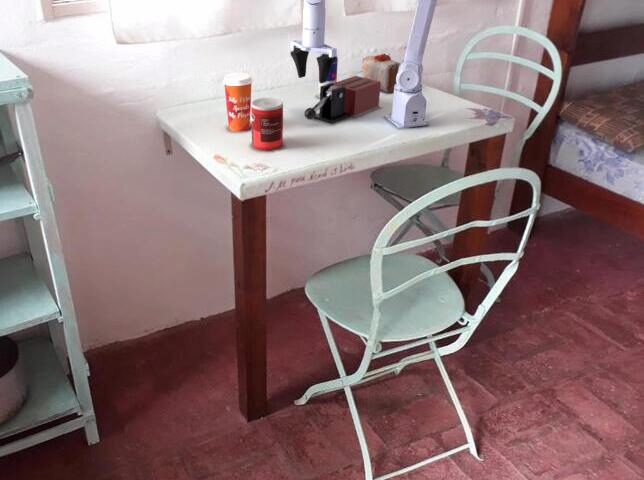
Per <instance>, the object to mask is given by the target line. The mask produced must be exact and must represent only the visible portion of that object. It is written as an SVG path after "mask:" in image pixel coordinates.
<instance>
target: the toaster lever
mask: <svg viewBox="0 0 644 480" xmlns="http://www.w3.org/2000/svg"><path fill="white" fill-rule="evenodd" d="M335 88H337V87H335V86H331V87H330V88H329V89H327V90H326V91H325V92H326V96H325V97H324V98H323V99H322V100H320V99H319V101H318V102H317V103H316V104H315V105H314V106H313V107H308V108H306V109H305V110H304V117H305V118H306V119H307V120H314V119H313V118H314V117H315V115H316V114H317V111H320V108H321V107H322V106H323V105H324V104H325V103H326V102H327V101H328V100H329V99H330V100H331V97H332V89H335Z"/></svg>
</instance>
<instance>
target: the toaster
mask: <svg viewBox="0 0 644 480" xmlns="http://www.w3.org/2000/svg"><path fill="white" fill-rule="evenodd" d="M380 85H381V82H380V81H376V80H371V79H367V78H363V77H362V76H359V75H353V76H350V77H348V78H343V79H342V80H339V81H337V82H336V83H334V86H335V87H340V86H345V99H344V112H346V113H349V114H351V117H352V118H356V117H359V116H362V115H364V114H367V113H369V112H372V111H374V110H377V109H378V108H380V97H381V90H380Z"/></svg>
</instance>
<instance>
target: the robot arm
mask: <svg viewBox="0 0 644 480" xmlns="http://www.w3.org/2000/svg"><path fill="white" fill-rule="evenodd" d="M437 1H438V0H417V3H416V8H415V12H414V17H413V20H412V25H411V29H410V33H409V38H408V42H407V46H406V50H405V55H404V58H403V60H402V61H401V62H399V63H400V65H399V68H398V73H397V76H396V84H395V85H394V92H393V94H392V95H393V96H392V106H391V114H385V118H386V119H387V120H388V121H390V122H391V123H392V124H393V125H394V126H396V127H397V128H399V129H406V128H414V127H424V126H428V122H426V120H425V119H426V110H427V104H428V103H427V99H426V97H425V96H424V94H423V84H422V76H423V75H422V74H423V71H424V68H423V67H424V66H423V60H424V59H423V58H424V55H425V54H424V53H425V50H426V46H427V43H428V38H429V34H430V30H431V25H432V21H433V17H434V14H435V9H436V5H437ZM325 32H326V0H303V8H302V40H298V39H294V40H291V41H290V49H291V51H290V57H291V58H292V60H293V62H294V64H295V68H296V73H297V76H298V79H302V78H305V77H306V75H307V64H308V63H307V62H308V57H309V54H310V53H313V54H318V55H319V56H317V57H316V62H317V66H318V80H319V83H325V82H326V81H327V77H328V74H329V71H330V68H331V66H332V64H333V62H334V61H335V59H336V56H337V57H338V55H337V53H338V49H337V48H336V47H332V46H330V45H328V44H326V43H325V37H326V36H325V34H326V33H325ZM320 55H322V56H320Z"/></svg>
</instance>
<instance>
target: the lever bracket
mask: <svg viewBox="0 0 644 480" xmlns="http://www.w3.org/2000/svg"><path fill="white" fill-rule="evenodd" d="M331 86H334V83H329V84H326V85H323V86H320V97H319V101H320V100H322V99H323V98H324V97H325V96H326V92H325V91H326V90H327V89H329V88H330V87H331ZM344 99H345V86H340V87H337V88H335V89H332V97H331V100H330V99H329V100H328V101H327V102H326V103H325V104H324V105H323V106H322V107H321V108H320V109H319V112H316V115H315V117H314V118H313V119H312V120H317V121H320V122H322V123H323V122H324V123H327V124H330V125H333V124H336V123H338V122H341V121H343V120H345V119H348V118H351V117H352V116H351V114H349V113H346V112H344Z"/></svg>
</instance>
